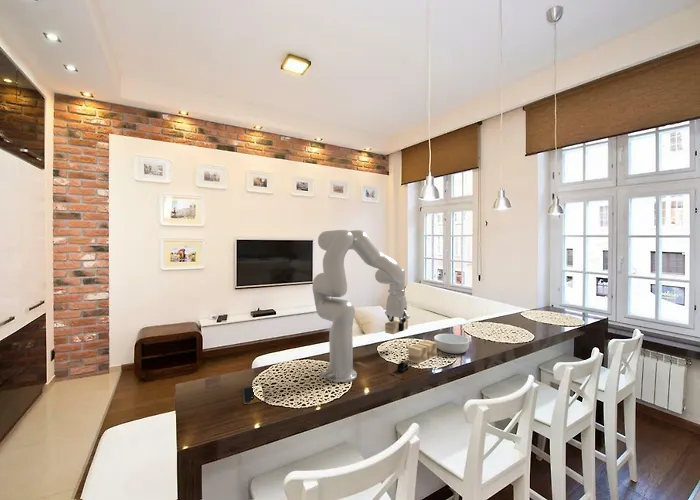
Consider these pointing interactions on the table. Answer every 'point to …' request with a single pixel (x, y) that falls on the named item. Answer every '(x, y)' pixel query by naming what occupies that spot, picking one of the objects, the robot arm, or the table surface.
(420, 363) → the build board
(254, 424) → the table surface
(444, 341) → the cereal bowl
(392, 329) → the lintel
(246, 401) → the cell phone
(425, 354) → the pillar
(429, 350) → the pillar
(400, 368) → the small black block
